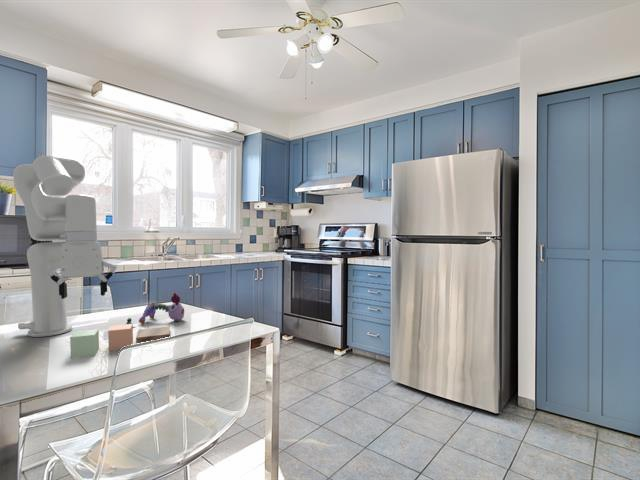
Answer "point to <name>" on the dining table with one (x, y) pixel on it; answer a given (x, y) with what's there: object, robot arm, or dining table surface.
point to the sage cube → (84, 343)
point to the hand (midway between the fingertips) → (84, 296)
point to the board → (152, 334)
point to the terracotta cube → (120, 336)
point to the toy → (173, 310)
